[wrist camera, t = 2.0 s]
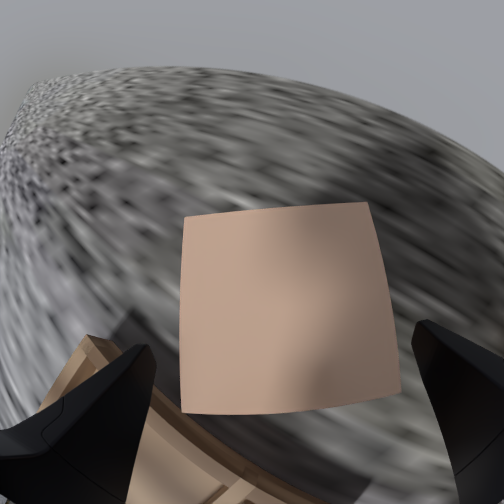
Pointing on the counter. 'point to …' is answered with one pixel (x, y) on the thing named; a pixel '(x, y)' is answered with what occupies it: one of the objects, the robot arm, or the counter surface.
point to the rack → (178, 449)
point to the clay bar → (284, 311)
